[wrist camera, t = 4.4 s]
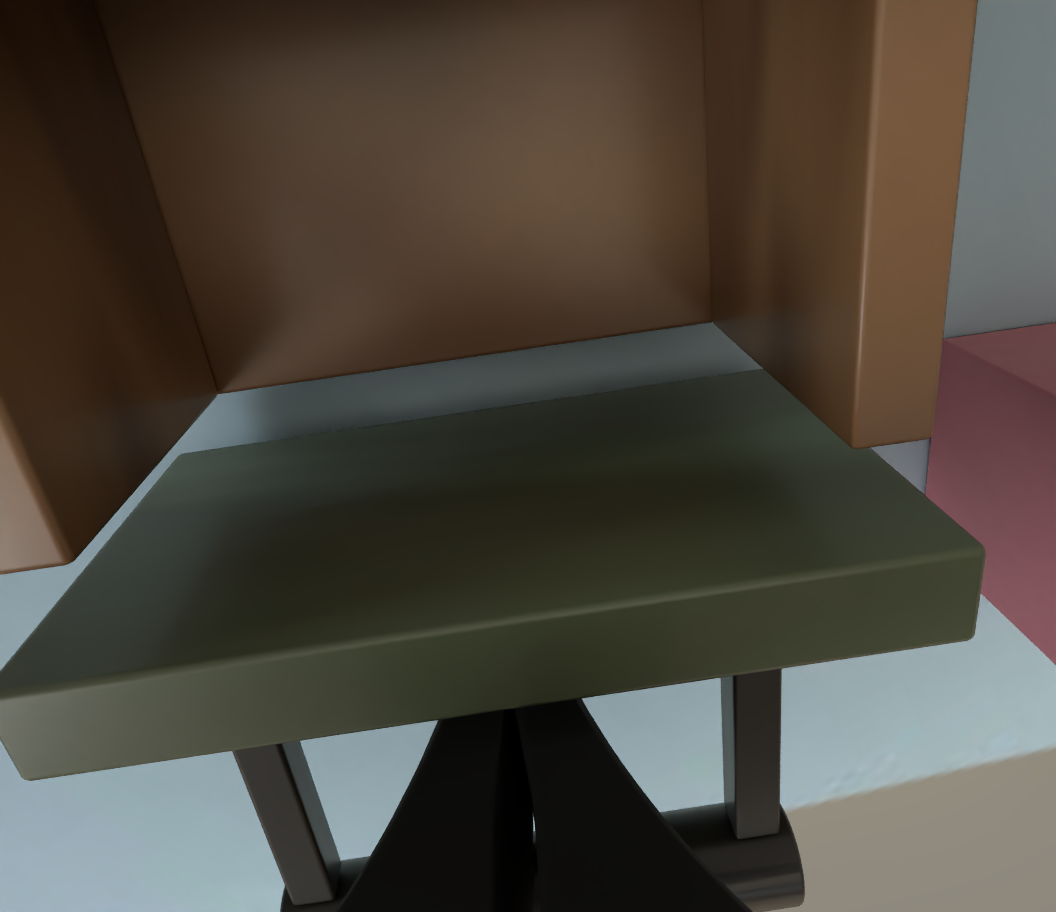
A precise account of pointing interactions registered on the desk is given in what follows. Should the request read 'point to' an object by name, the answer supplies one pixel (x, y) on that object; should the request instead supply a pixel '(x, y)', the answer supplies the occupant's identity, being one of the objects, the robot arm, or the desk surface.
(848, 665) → the desk surface
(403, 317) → the drawer
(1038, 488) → the block
